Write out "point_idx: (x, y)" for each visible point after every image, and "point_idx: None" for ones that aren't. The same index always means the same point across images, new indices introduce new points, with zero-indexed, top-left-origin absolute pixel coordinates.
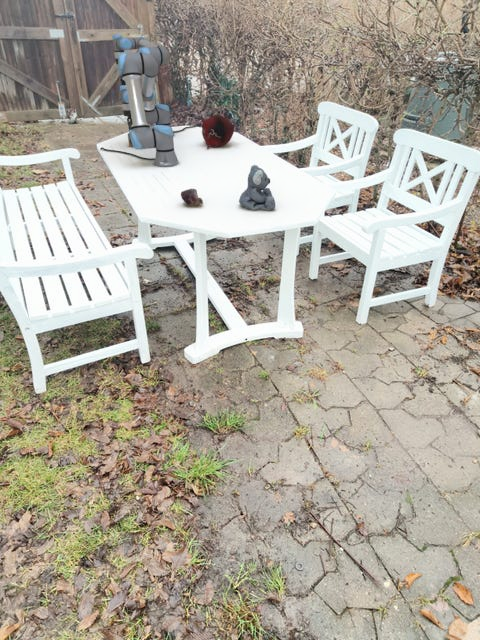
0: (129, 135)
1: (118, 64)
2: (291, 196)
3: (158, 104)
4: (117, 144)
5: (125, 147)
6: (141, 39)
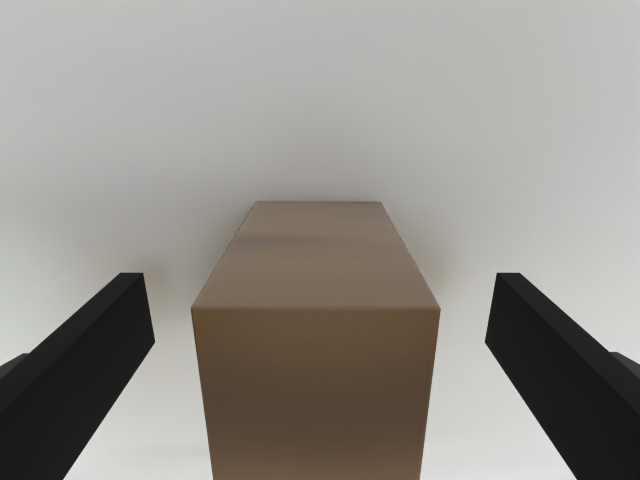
0: (418, 469)
1: None
2: None
3: None
4: (187, 475)
5: None
6: None
